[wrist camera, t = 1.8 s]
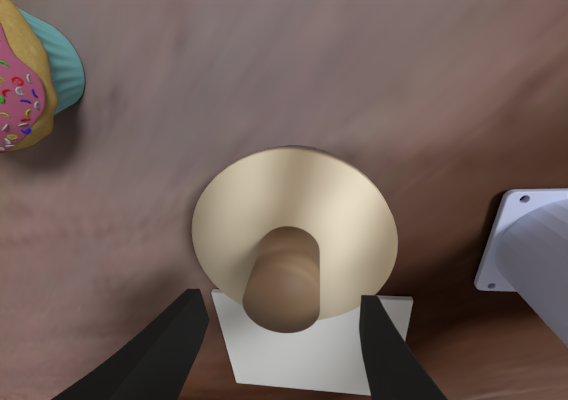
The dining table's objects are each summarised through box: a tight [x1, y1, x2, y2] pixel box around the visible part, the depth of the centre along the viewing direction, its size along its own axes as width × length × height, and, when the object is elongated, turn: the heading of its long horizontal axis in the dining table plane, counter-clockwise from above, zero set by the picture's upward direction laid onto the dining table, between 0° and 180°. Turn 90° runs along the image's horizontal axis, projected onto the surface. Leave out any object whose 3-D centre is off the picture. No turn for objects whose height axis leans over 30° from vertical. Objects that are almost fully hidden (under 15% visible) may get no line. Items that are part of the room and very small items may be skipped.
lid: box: [192, 146, 398, 333], centre depth 13 cm, size 12×12×5 cm
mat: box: [211, 289, 413, 395], centre depth 24 cm, size 17×14×1 cm
